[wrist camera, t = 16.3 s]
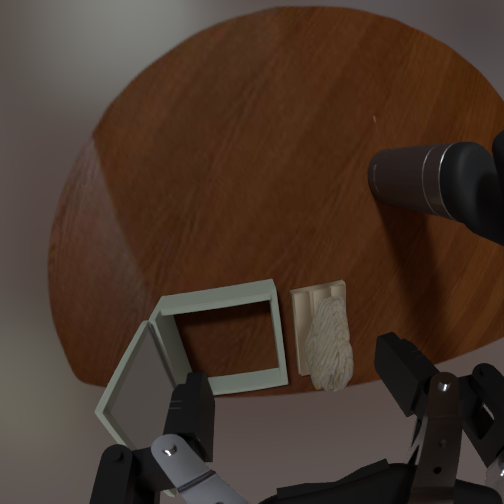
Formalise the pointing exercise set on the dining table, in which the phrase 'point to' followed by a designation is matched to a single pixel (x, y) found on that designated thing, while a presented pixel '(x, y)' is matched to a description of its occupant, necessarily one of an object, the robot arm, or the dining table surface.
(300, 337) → the slatted stand
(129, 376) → the cold frame
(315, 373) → the fossil tooth
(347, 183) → the dining table surface
